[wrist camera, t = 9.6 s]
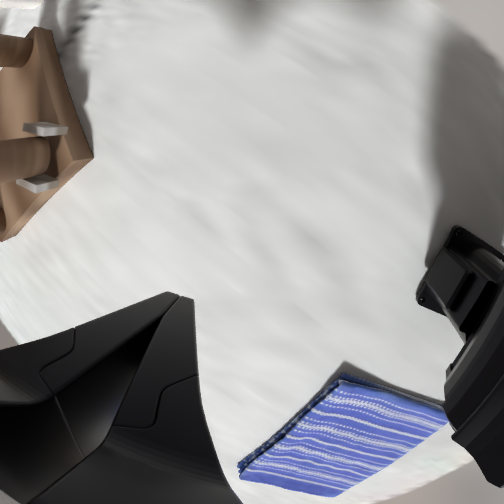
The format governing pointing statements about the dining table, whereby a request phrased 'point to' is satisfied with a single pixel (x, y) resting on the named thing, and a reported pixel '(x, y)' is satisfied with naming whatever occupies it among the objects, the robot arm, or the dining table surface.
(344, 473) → the dish towel
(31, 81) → the stool
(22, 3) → the foam cup
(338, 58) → the dining table surface
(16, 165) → the hinged leg
